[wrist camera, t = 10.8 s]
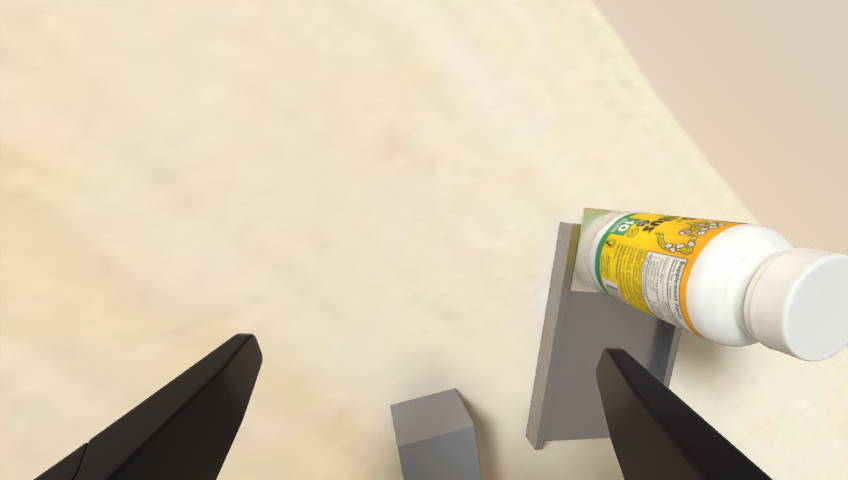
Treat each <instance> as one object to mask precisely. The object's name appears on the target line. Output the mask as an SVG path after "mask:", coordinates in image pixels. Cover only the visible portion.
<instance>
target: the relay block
mask: <svg viewBox="0 0 848 480" xmlns="http://www.w3.org/2000/svg"><path fill="white" fill-rule="evenodd" d="M390 407H391V412H392V418H393V423H394V429H395V435H396V440H397V446H398V451H399V457H400V462H401V468H402V474H403V479H404V480H481V472H480V464H479V456H478V449H477V441H476V433H475V425H474V423H473V421H472V419H471V418H470V416H469V414H468V412H467V410H466V408H465V406H464V404H463V402H462V400H461V398H460V396H459V394H458V392H457V390H456V388H455V389H451V390H448V391H444V392H440V393H436V394H432V395H428V396H425V397H421V398H417V399H413V400H409V401H405V402H401V403H398V404H394V405H390Z"/></svg>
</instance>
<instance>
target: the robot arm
mask: <svg viewBox="0 0 848 480" xmlns="http://www.w3.org/2000/svg"><path fill="white" fill-rule="evenodd" d="M261 364H262V353H261V350H260V347H259V345H258V342H257V339H256V337H255V336H254V335H253V334H243V333H240V334H236V335H235V336H233V337H232V338H230V339H229V340H228V341H226V342H225V343H223V344H222V345H221V346H219V347H218V348H217V349H215V350H214V351H212V352H211V353H210V354H208V355H207V356H205V357H204V358H203V359H201V360H200V361H199V362H197V363H196V364H194V365H193V366H192V367H190V368H189V369H187V370H186V371H185V372H183V373H182V374H181V375H179V376H178V377H176V378H175V379H174V380H172V381H171V382H169V383H168V384H167V385H165V386H164V387H162V388H161V389H160V390H158V391H157V392H156V393H154V394H153V395H151V396H150V397H149V398H147V399H146V400H144V401H143V402H142V403H140V404H139V405H138V406H136V407H135V408H133V409H132V410H131V411H129V412H128V413H126V414H125V415H124V416H122V417H121V418H120V419H118V420H117V421H115V422H114V423H113V424H111V425H110V426H108V427H107V428H106V429H104V430H103V431H101V432H100V433H99V434H97V435H96V436H95V437H93V438H92V439H90V440H89V442H88V443H85V444H83V445H82V446H81V447H79V448H78V449H76V450H75V451H74V452H72V453H71V454H69V455H68V456H67V457H65V458H64V459H62V460H61V461H60V462H58V463H57V464H55V465H54V466H52V467H51V468H50V469H48V470H47V471H45V472H44V473H42V474H41V475H40V476H38V477H37V478H35V479H34V480H216V479H217V477H218V474H219V472H220V470H221V468H222V465H223V463H224V461H225V459H226V456H227V454H228V452H229V450H230V448H231V445H232V443H233V441H234V439H235V436H236V434H237V432H238V430H239V427H240V425H241V423H242V420H243V418H244V415H245V412H246V409H247V406H248V403H249V400H250V397H251V394H252V391H253V388H254V385H255V382H256V379H257V376H258V373H259V370H260V367H261ZM596 379H597V383H598V388H599V392H600V396H601V400H602V405H603V409H604V413H605V417H606V422H607V426H608V430H609V434H610V438H611V441H612V444H613V447H614V450H615V453H616V456H617V459H618V462H619V465H620V467H621V470H622V473H623V476H624V479H625V480H772V479H771V478H770V477H769V476H768V475H767V474H766V473H764V472H763V471H762V470H761V469H760V468H759V467H758V466H756V465H755V464H754V463H753V462H752V461H751V460H750V459H748V458H747V457H746V456H745V455H744V454H743V453H742V452H740V451H739V450H738V449H737V448H736V447H735V446H734V445H732V444H731V443H730V442H729V441H728V440H727V439H726V438H725V437H723V436H722V435H721V434H720V433H719V432H718V431H717V430H715V429H714V428H713V427H712V426H711V425H710V424H709V423H707V422H706V421H705V420H704V419H703V418H702V417H701V416H699V415H698V414H697V413H696V412H695V411H694V410H693V409H691V408H690V407H689V406H688V405H687V404H686V403H685V402H683V401H682V400H681V399H680V398H679V397H678V396H677V395H676V394H674V393H673V392H672V391H671V390H670V389H669V388H668V387H666V386H665V385H664V384H663V383H662V382H661V381H660V380H658V379H657V378H656V377H655V376H654V375H653V374H652V373H650V372H649V371H648V370H647V369H646V368H645V367H644V366H642V365H641V364H640V363H639V362H638V361H637V360H636V359H635V358H633V357H632V356H631V355H630V354H629V353H628V352H627V351H625V350H624V349H622V348H614V347H606V348H604V349H603V351H602V354H601V356H600V359H599V362H598V365H597V367H596Z"/></svg>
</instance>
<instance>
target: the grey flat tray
mask: <svg viewBox="0 0 848 480" xmlns="http://www.w3.org/2000/svg"><path fill="white" fill-rule="evenodd" d="M626 213H630V212H621V211H612V210H602V209H593V208H583V212H582V218H581V224H575V223H564V222H560V227H559V234H558V240H557V246H556V252H555V258H554V265H553V271H552V277H551V283H550V289H549V296H548V302H547V308H546V314H545V320H544V327H543V333H542V339H541V345H540V352H539V358H538V364H537V370H536V376H535V383H534V389H533V395H532V401H531V407H530V414H529V420H528V426H527V432H526V437H527V439H528V440H529V442H530V443H531V445H532V446H533V447H534V449H535V450H540V449H543V443H544V441H553V440H571V439H590V438H608V437H610V434H609V430H608V426H607V422H606V417H605V413H604V409H603V405H602V400H601V396H600V392H599V388H598V383H597V379H596V367H597V365H598V362H599V359H600V356H601V354H602V351H603V349H604V348H606V347H614V348H622V349H624V350H625V351H627V352H628V353H629V354H630V355H631V356H632V357H633V358H635V359H636V360H637V361H638V362H639V363H640V364H641V365H642V366H644V367H645V368H646V369H647V370H648V371H649V372H650V373H652V374H653V375H654V376H655V377H656V378H657V379H658V380H660V381H661V382H662V383H663V384H664V385H665V386H666V387H668V388H669V384H670V379H671V375H672V370H673V366H674V361H675V357H676V352H677V347H678V343H679V338H680V334H681V329H682V328H680V327H677V326H675V325H673V324H670V323H668V322H666V321H664V320H662V319H659V318H657V317H655V316H652V315H650V314H648V313H645V312H643V311H641V310H639V309H636V308H634V307H631V306H629V305H627V304H625V303H622V302H620V301H618V300H616V299H614V298H612V297H610V296H608V295H606V294H605V293H603V292H602V291H601V290H600V289H599V288H598V287H597V285H596V284H595V282H594V280H593V278H592V276H591V273H590V268H589V255H590V250H591V246H592V243H593V241H594V239H595V237H596V236H597V234H598V233H599V231H600V230H601V229H602V228H603V227H604V226H605V225H606V224H608V223H609V222H610V221H611V220H613V219H614V218H616V217H617V216H619V215H622V214H626Z"/></svg>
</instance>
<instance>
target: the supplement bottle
mask: <svg viewBox="0 0 848 480" xmlns="http://www.w3.org/2000/svg"><path fill="white" fill-rule="evenodd" d="M589 268H590V273H591V276H592V278H593V280H594V282H595V284H596V285H597V287H598V288H599V289H600V290H601V291H602V292H603V293H605V294H606V295H608V296H610V297H612V298H614V299H616V300H618V301H620V302H622V303H625V304H627V305H629V306H631V307H634V308H636V309H639V310H641V311H643V312H645V313H648V314H650V315H652V316H655V317H657V318H659V319H662V320H664V321H666V322H668V323H670V324H673V325H675V326H677V327H680V328H682V329H684V330H686V331H689V332H691V333H693V334H696V335H698V336H700V337H702V338H705V339H707V340H710V341H712V342H715V343H718V344H721V345H726V346H746V345H751V344H755V343H758V342H760V343H762V344H763V345H764V346H766V347H768V348H770V349H773V350H777V351H780V352H783V353H785V354H788V355H790V356H793V357H796V358H799V359H802V360H806V361H820V360H824V359H827V358H829V357H831V356H833V355H835V354H836V353H838V352H839V351H840V350H842V349H843V348H844V347H845V346H846V345H847V344H848V255H844V254H840V253H835V252H829V251H823V250H817V249H813V248H796V249H795V247H794V246H793V245H792V243H791V242H790V241H789V240H787V238H785V237H784V236H783V235H781V234H780V233H778V232H776V231H775V230H772V229H770V228H767V227H763V226H758V225H753V224H747V223H736V222H726V221H717V220H708V219H697V218H689V217H679V216H669V215H660V214H650V213H640V212H631V213H626V214H622V215H619V216H617V217H616V218H614V219H613V220H611V221H610V222H609V223H608V224H606V225H605V226H604V227H603V228H602V229H601V230H600V231H599V233H598V234H597V236H596V237H595V239H594V241H593V243H592V246H591V250H590V255H589Z"/></svg>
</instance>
